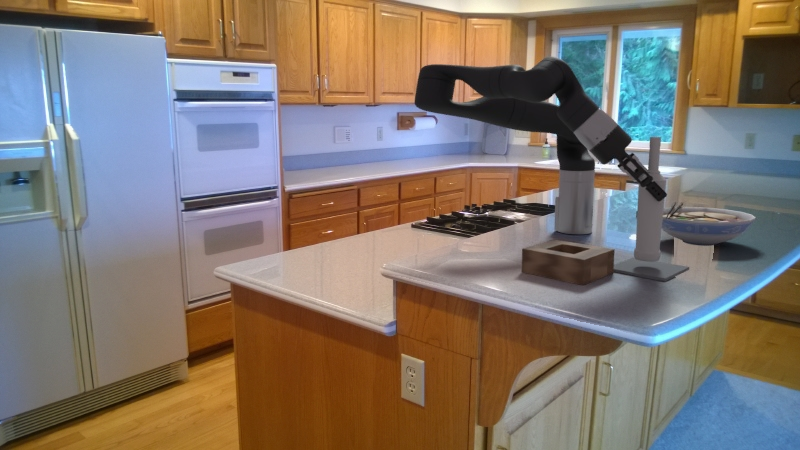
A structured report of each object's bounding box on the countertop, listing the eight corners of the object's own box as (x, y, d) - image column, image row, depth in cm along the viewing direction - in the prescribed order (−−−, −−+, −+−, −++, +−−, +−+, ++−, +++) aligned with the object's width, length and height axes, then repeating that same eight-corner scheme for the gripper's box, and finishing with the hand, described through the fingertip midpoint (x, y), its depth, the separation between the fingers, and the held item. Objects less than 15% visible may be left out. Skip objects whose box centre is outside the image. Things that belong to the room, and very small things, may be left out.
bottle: (663, 262, 117) (672, 137, 113) (635, 261, 118) (644, 137, 114) (657, 256, 122) (666, 136, 118) (631, 255, 123) (639, 136, 119)
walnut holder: (521, 272, 121) (522, 248, 120) (553, 261, 129) (554, 239, 128) (583, 285, 111) (584, 259, 110) (613, 273, 119) (614, 249, 118)
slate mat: (606, 270, 121) (606, 267, 121) (632, 260, 129) (633, 257, 129) (664, 281, 112) (665, 278, 112) (689, 269, 120) (689, 266, 120)
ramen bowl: (751, 258, 129) (755, 222, 127) (641, 248, 140) (643, 214, 139) (754, 238, 149) (757, 206, 148) (658, 230, 161) (660, 201, 160)
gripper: (587, 147, 126) (642, 203, 125) (588, 151, 113) (650, 214, 112) (614, 122, 124) (671, 179, 123) (619, 123, 110) (682, 188, 109)
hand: (660, 196), depth 117 cm, fingers closed on bottle, 5 cm apart
